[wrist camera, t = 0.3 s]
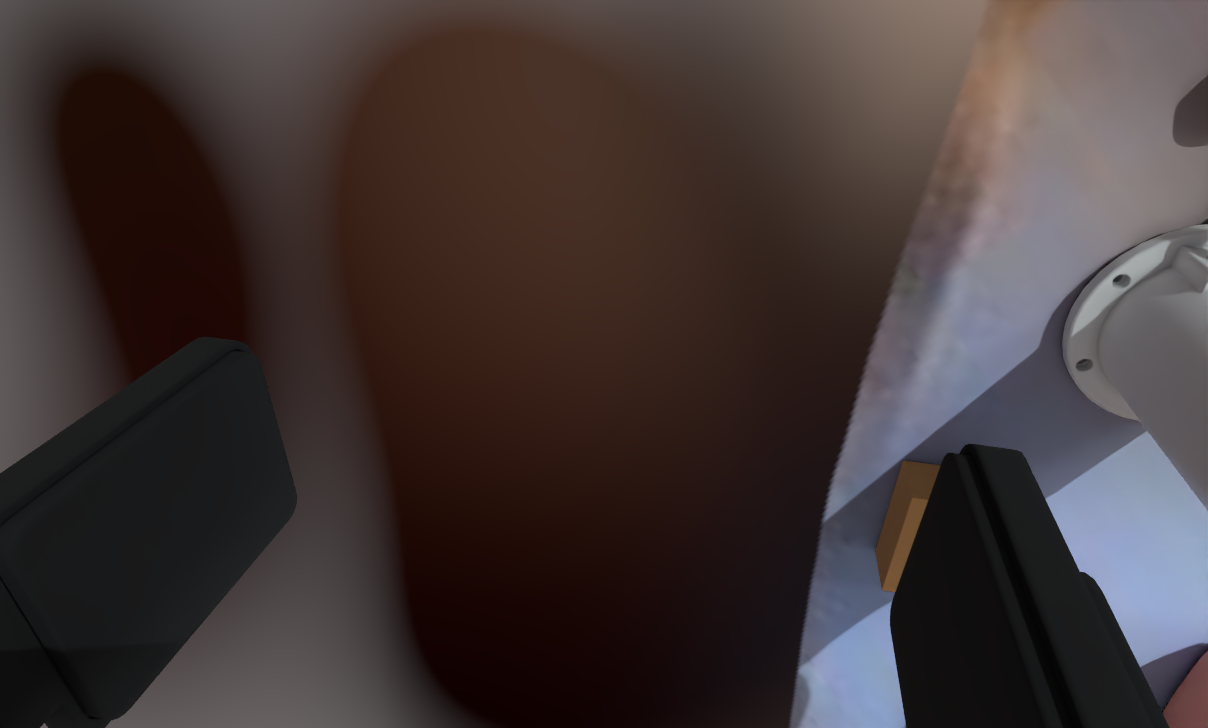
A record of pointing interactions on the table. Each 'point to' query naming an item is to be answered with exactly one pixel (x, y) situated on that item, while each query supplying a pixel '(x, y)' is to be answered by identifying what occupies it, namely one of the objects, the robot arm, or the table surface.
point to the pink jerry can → (1190, 699)
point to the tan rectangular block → (903, 520)
